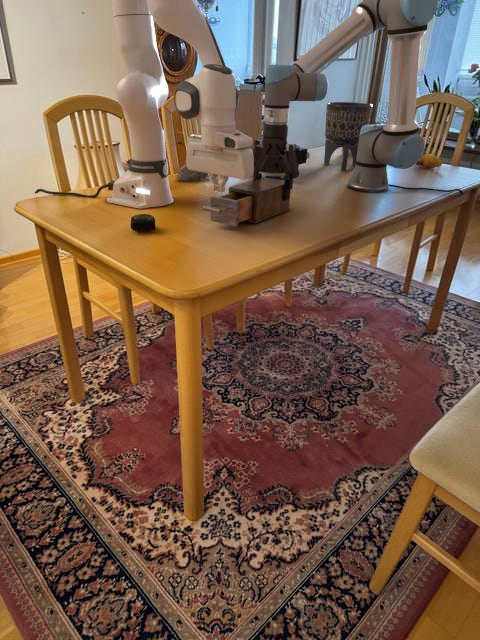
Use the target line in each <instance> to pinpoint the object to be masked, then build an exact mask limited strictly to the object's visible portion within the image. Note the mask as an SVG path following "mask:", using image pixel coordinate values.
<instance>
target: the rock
mask: <svg viewBox="0 0 480 640" xmlns="http://www.w3.org/2000/svg"><path fill="white" fill-rule="evenodd" d="M206 178H209V173H205V172H199V171H193V170H189V169H188V168H187V166H186V163H185V164H184V165H182V166H181V167H180V168H179V169H178V171H177V175H176V180H177V181H178V182H179V181H180V182H185V183H191V182H201V181H202V180H204V179H206Z"/></svg>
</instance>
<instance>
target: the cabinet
mask: <svg viewBox="0 0 480 640" xmlns="http://www.w3.org/2000/svg"><path fill="white" fill-rule="evenodd" d="M291 190H292V189H291ZM291 190H290V192H291ZM232 192H240V193H245V194H250V195H254V210H253V217H252V218H250V219H247V220H244V221H243V222H248V223H252V224H257V223H260V222H262V221H266V220H268V219H270V218H273V217H275V216H277V215H280V214H282V213H285V212H288V211H289V210H290V201H291V200H290V199H291V195H290V196H289V199H288V200H286V201H284V200H283V195H284V180H281V179H276V178H271V177H261V178H260V179H257V180H253V179H252V180H249V181H246V182H241V183H238V184H235V185H231V186H228V194H229V193H232Z"/></svg>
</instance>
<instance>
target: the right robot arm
mask: <svg viewBox="0 0 480 640" xmlns="http://www.w3.org/2000/svg"><path fill="white" fill-rule="evenodd" d="M438 7H439V0H362V1H360V2H359V3H358V4H357V5H356V6H355V7H354V8H353V9H351V14H350V15H349V16H348V17H347V18H345V20H344V21H342V22H341V23H340V24H339V25H338V26H336V27H335V28H334V29H333V30H332V31H330V32H329V33H327V35H325V36H324V37H323V38H322V39H321V40H320V41H319V42H318V43H316V44H315V45H314V46H312V48H310V49H309V50H308V51H307V52H306V53H304V54H303V55H302V56H301V57H300V58H299V59H297V60H296V61H295V62H294V63H293V64H291V65H290V64H269V65H268V66H267V67H266V71H265V80H264V107H263V122H264V124H262V125H263V126H262V127H263V128H262V136H263V138H262V139H261V138H259V139H255V140H254V141H253V149H252V152H253V158H254V172H253V175H252V181H253V180H257V179H260V178H262V173H259V172H261V171H260V170H261V168H262V167H263V165H264V163H265V161H266V160H267V158H268V156H269V155H273V156H277V157H278V159H279V160H280V162H281V165H282V167H283V170H284V172H285V175H286V176H285V177H286V178H284V180H283V181H284V195H283V200H284V201H286V200H288V199H289V196H290V197H291V191H290V190H292V189H293V187H294V186H293V185H294V179H296V178H299V177H300V171H299V167H298V164H297V158H296V153H295V151H296V145H297V144H296V143H288V141H287V140H288V135H289V124H287V123H289V122H290V121H289V120H290V106H291V102H313V103H315V102H320V101H321V102H322V101H323V100H325V98H326V96H327V94H328V92H329V80H328V77H327V75H326V74H324V73H322V72H323V71H324V70H325V69H327V68H328V67H329V66H331V65H332V64H333V63H334V62H335V61H337V60H338V59H339V58H340V57H342V55H344V54H345V53H346V52H347V51H348V50H349V49H351V48H353V46H355V45H356V44H357V43H358V42H359V41H360V40H362V39H363V38H369V37H370V36H372V34H374V33H376V32H377V31H379V30H382V29H385V28H386V29H387V30H386V31H387V32H386V36H387V38H389V40H390V41H391V52H390V53H391V54H390V71H389V74H390V75H389V91H388V92H389V93H388V94H389V95H388V111H387V112H388V113H387V123H386V124H384V123H383V124H382V123H381V124H369V125H364V126H363V127H362V128H361V131H360V135H359V143H358V150H357V158H356V165H355V166H354V167H353V171H351V174H350V176H349V179H348V180H347V181H348V182H347V187H348V188H349V189H351V190H354V191H358V192H363V193H364V192H365V193H382V192H386V191H388V189H389V187H391V188H398V189H402V190H409V191H410V190H412V191H414V190H415V191H416V190H417V191H419V190H421V191H422V190H423V191H432V192H439V193H452V192H455V191H456V192H460V194H464V191H463V190H462V189H461V188H453V189H439V188H438V189H437V188H430V187H407V186H401V185H396V184H389V178H388V173H387V172H388V171H387V166H389V167H393V168H394V169H401V170H407V169H409V168H412V167H413V166H415V165H416V163H417V161H418V160H419V159H420V158H421V156H423V154H424V151H425V147H426V143H425V139H424V138H423V136H421V135H420V134H419V130H420V125H419V124H418V123H417V121H416V109H417V108H416V107H417V94H418V82H419V71H420V70H419V69H420V58H421V45H422V37H423V36H424V35H425V34H426V33H427V31H428V26H429V25H428V24H429V23H430V22H431V21H432V20H433V19H434V16H435V15H436V13H437V10H438ZM262 146H263V147H264V151H263V152H262V155H261V157H260V159H259V161H258V162H257V160H258V157H259V154H260V150H261V147H262ZM286 148H287V151H288V156H289V161H290V165H289V162H288V160H287V157H286V156H287V155H286V152H285V149H286ZM281 154H282V155H281Z"/></svg>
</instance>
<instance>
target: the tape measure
mask: <svg viewBox="0 0 480 640" xmlns="http://www.w3.org/2000/svg"><path fill="white" fill-rule="evenodd" d="M130 229H131V230H132V231H134V232H143V233H144V232H147V231H155V230H156V219H155V217H154V216H153V215H152V214H149V213H139V214H138V213H137V214H135V215H133V216H132V217H131V218H130Z"/></svg>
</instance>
